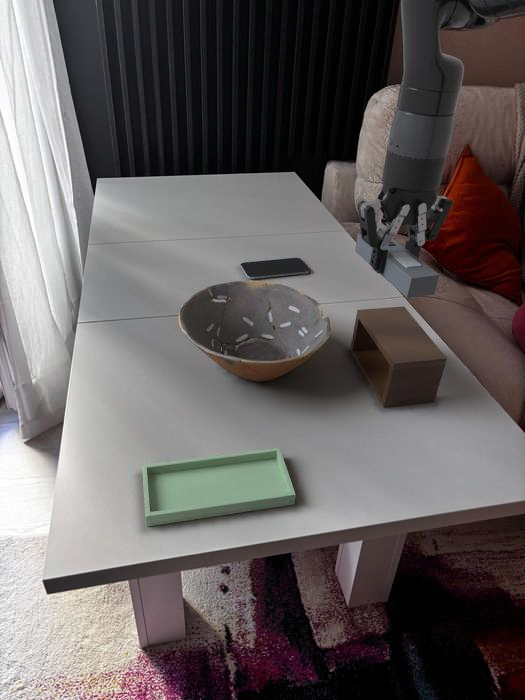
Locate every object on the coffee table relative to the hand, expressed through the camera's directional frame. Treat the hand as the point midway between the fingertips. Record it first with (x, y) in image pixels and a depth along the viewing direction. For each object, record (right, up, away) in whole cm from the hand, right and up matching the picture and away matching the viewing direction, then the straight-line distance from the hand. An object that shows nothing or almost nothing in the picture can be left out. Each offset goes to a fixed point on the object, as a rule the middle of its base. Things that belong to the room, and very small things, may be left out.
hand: (392, 268), depth 80 cm
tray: (-25, -31, -6) cm, 40 cm away
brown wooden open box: (+3, -16, +17) cm, 24 cm away
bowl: (-21, -14, +18) cm, 31 cm away
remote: (0, 0, 0) cm, 0 cm away
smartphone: (-16, +7, +47) cm, 51 cm away
